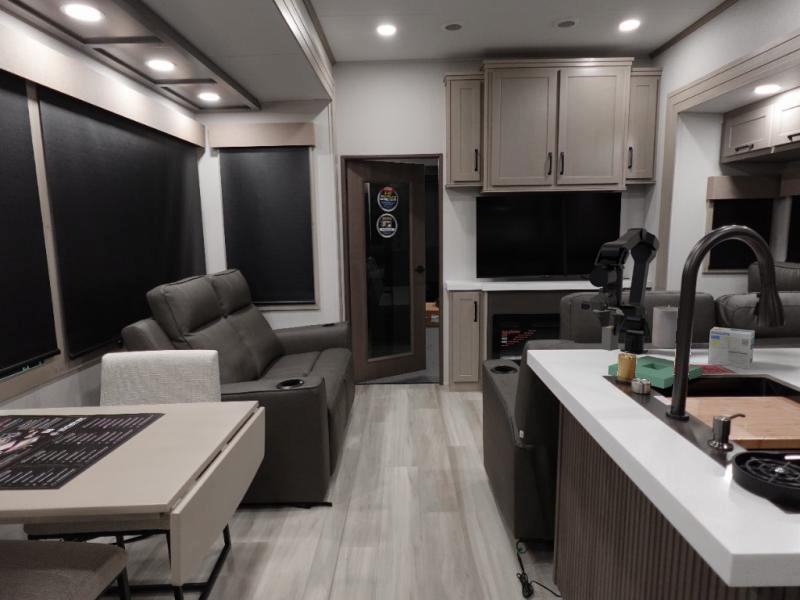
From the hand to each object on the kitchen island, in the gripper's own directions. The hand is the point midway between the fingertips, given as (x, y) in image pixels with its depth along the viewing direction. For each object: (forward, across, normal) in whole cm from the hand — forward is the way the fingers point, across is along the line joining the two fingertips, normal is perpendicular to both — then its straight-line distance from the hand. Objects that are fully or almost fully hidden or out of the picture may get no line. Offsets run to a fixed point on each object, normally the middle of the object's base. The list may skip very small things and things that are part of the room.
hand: (610, 334), depth 147 cm
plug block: (+5, 0, 0) cm, 5 cm away
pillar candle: (+9, -2, +37) cm, 38 cm away
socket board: (+9, +15, -1) cm, 18 cm away
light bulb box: (+9, +22, +28) cm, 37 cm away
